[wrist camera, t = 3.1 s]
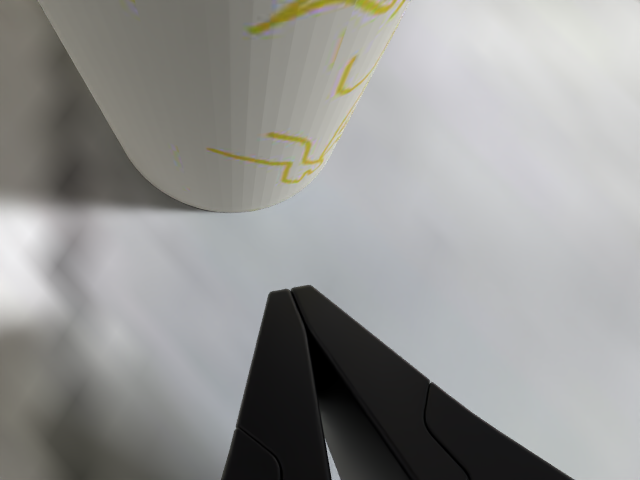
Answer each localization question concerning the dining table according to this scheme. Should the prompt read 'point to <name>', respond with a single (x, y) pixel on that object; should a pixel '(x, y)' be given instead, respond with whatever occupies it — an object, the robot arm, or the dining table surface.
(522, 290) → the dining table surface
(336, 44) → the cup
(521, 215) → the dining table surface
